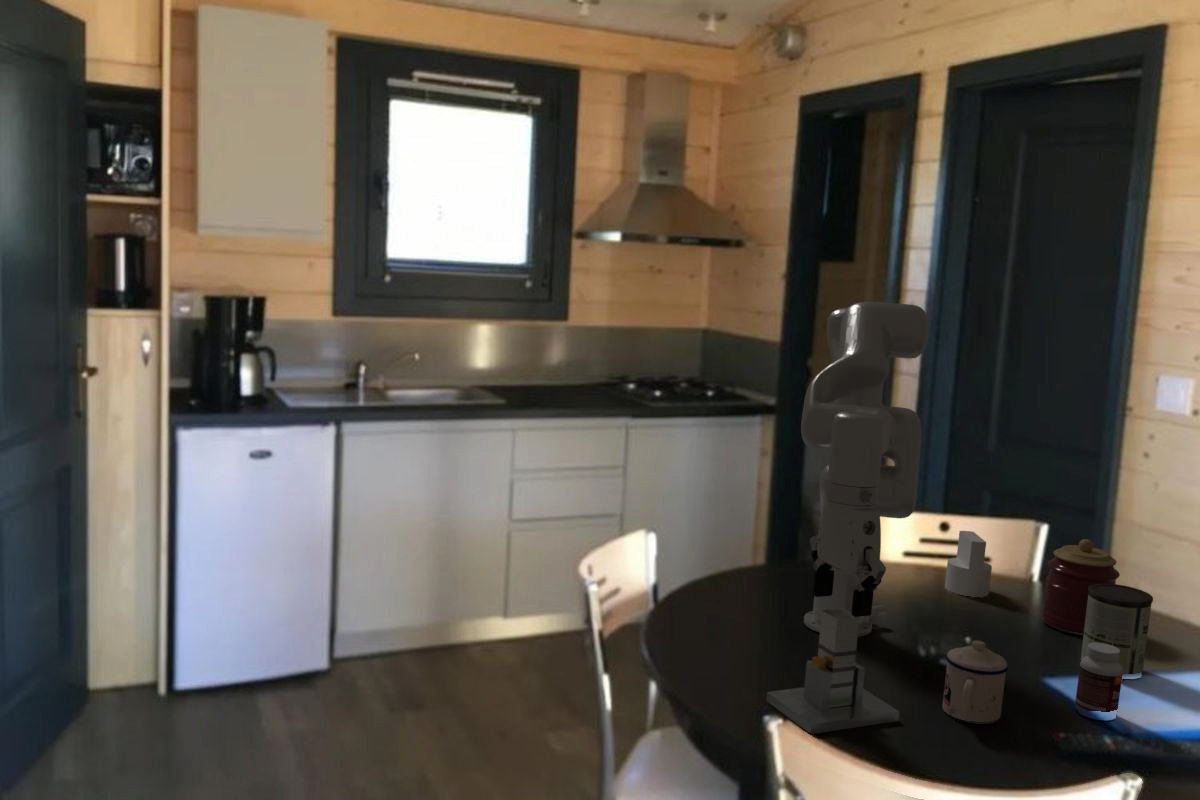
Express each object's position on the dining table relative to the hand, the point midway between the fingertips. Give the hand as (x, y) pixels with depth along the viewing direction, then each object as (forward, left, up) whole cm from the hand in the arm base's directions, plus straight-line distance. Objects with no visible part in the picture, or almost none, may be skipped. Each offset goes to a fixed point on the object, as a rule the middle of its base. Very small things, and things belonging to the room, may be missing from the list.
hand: (841, 605), depth 166 cm
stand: (0, 0, -17) cm, 17 cm away
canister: (-72, -20, -17) cm, 77 cm away
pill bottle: (-41, +13, -17) cm, 46 cm away
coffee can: (-60, -1, -17) cm, 63 cm away
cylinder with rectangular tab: (-66, -44, -17) cm, 82 cm away
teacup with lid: (-20, +8, -17) cm, 28 cm away
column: (0, 0, -15) cm, 15 cm away
